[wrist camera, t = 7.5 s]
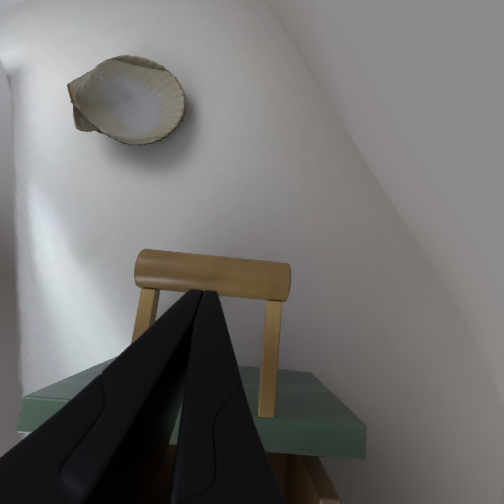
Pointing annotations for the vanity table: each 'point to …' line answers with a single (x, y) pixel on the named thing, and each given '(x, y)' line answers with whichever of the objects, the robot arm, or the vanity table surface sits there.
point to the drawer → (254, 379)
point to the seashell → (128, 100)
